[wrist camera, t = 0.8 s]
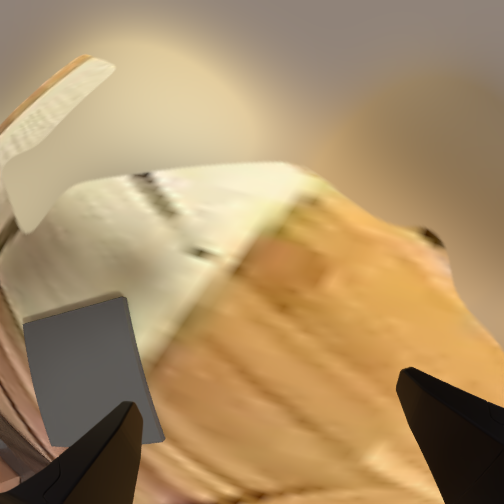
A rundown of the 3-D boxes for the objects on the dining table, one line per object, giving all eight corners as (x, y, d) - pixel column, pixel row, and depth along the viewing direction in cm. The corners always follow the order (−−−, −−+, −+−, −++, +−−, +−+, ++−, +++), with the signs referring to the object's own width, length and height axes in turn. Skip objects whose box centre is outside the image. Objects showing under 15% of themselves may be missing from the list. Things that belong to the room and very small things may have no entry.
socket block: (59, 470, 18) (41, 478, 14) (50, 521, 14) (36, 530, 11) (-3, 410, 19) (-22, 412, 16) (-8, 467, 16) (-24, 471, 12)
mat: (165, 438, 20) (162, 442, 19) (56, 444, 19) (51, 446, 18) (126, 298, 24) (122, 296, 23) (28, 325, 23) (22, 324, 22)
